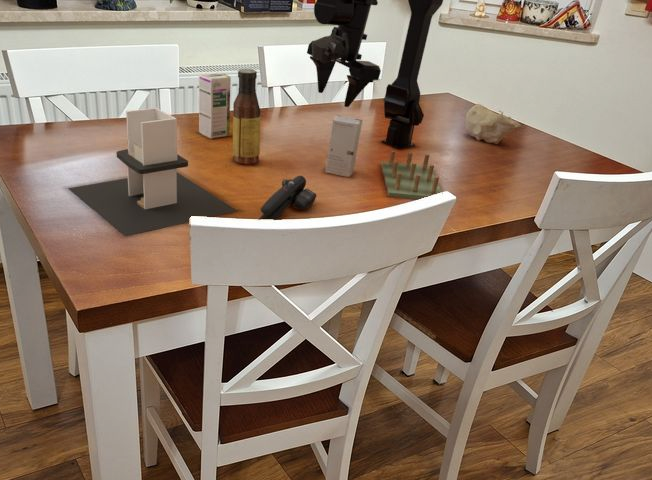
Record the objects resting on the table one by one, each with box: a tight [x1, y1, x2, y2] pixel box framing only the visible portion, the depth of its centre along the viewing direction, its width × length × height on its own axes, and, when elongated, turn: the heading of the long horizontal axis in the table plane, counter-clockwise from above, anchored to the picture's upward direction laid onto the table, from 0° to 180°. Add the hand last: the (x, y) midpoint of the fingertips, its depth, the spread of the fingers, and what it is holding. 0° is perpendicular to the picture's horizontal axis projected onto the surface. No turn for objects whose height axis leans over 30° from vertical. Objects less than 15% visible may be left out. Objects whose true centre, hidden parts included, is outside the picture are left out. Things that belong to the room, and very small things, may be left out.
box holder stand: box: [67, 107, 239, 237], centre depth 125 cm, size 25×24×16 cm
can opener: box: [259, 175, 317, 220], centre depth 127 cm, size 18×7×6 cm, turn 150°
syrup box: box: [198, 71, 232, 139], centre depth 163 cm, size 6×6×14 cm
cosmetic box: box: [324, 115, 363, 178], centre depth 147 cm, size 6×4×12 cm
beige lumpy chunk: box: [464, 103, 522, 145], centre depth 179 cm, size 15×7×15 cm
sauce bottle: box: [232, 68, 262, 166], centre depth 146 cm, size 6×6×20 cm
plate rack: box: [380, 150, 443, 200], centre depth 147 cm, size 20×12×4 cm, turn 177°
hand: (333, 99), depth 148 cm, fingers open, 9 cm apart
